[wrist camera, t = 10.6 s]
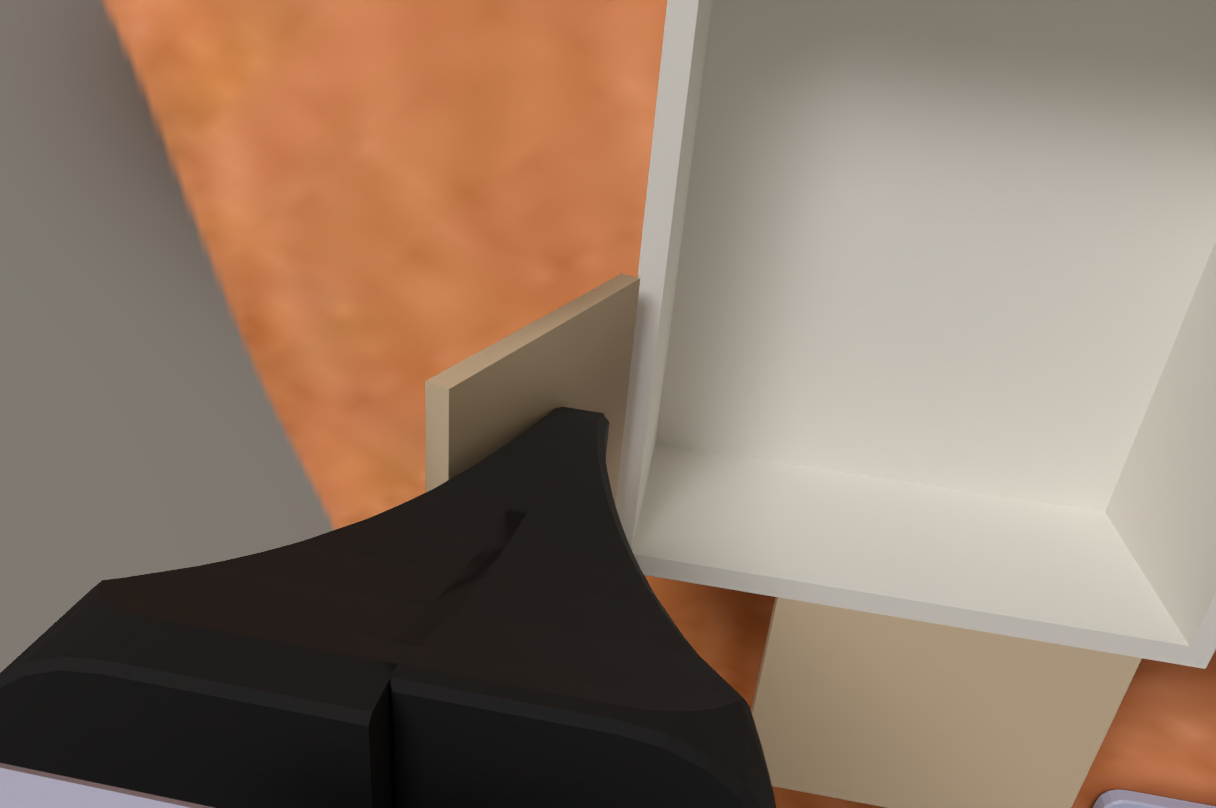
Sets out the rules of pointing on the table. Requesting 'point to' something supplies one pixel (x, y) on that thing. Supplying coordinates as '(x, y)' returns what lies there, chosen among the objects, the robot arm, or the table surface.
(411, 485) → the table surface
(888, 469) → the carton
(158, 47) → the table surface
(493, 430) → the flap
